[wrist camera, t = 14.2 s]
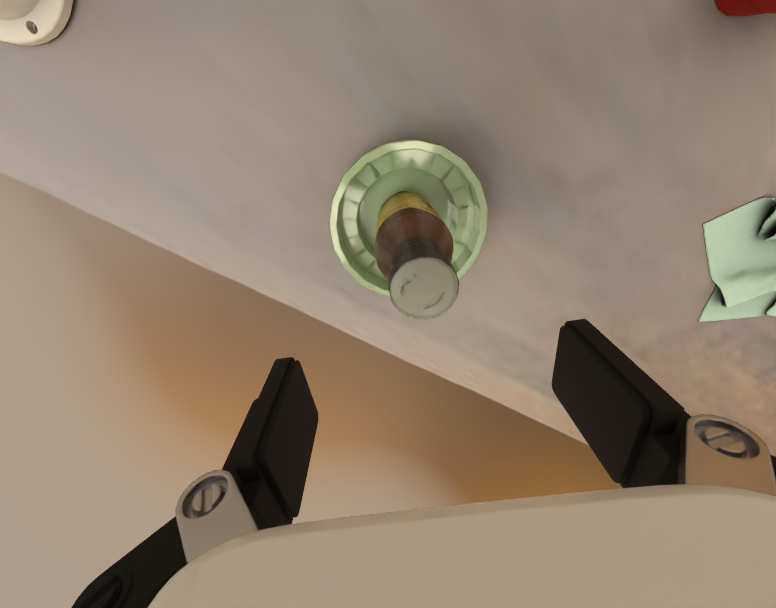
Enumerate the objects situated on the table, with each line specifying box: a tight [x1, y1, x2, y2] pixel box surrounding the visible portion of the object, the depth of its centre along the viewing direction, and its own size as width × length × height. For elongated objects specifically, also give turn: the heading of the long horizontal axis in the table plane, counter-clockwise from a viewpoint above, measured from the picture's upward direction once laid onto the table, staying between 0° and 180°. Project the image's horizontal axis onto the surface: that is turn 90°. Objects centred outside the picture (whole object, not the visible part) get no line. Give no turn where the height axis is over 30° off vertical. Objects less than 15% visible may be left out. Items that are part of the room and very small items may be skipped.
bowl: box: [329, 139, 488, 296], centre depth 33 cm, size 15×15×6 cm
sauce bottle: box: [375, 191, 459, 320], centre depth 27 cm, size 6×6×20 cm
